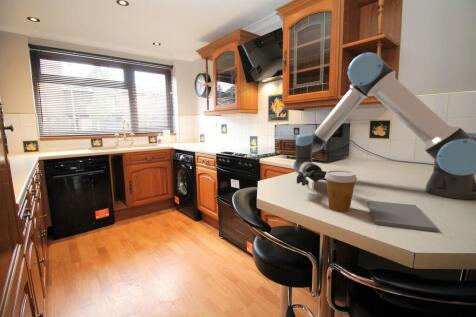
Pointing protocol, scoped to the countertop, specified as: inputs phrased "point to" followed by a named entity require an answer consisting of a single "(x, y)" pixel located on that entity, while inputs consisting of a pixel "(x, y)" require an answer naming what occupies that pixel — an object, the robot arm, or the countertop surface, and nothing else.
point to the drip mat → (399, 216)
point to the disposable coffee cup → (340, 189)
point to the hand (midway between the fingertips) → (332, 184)
